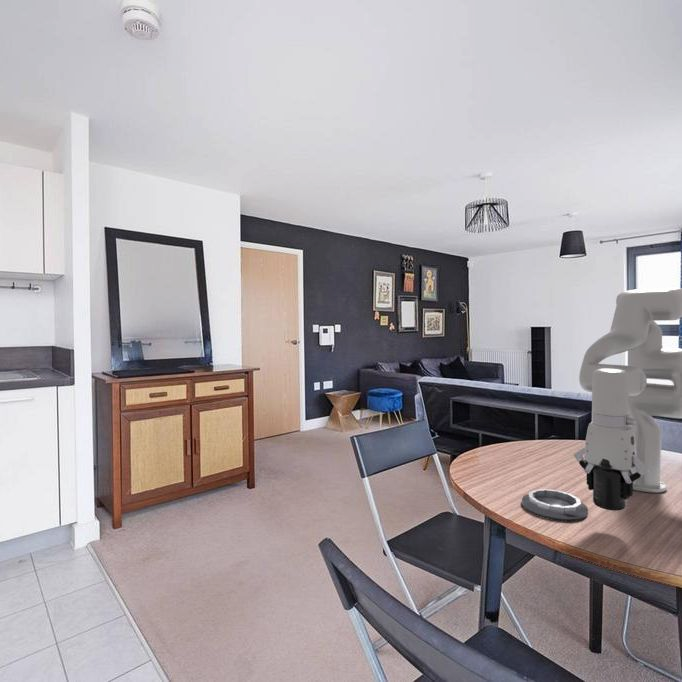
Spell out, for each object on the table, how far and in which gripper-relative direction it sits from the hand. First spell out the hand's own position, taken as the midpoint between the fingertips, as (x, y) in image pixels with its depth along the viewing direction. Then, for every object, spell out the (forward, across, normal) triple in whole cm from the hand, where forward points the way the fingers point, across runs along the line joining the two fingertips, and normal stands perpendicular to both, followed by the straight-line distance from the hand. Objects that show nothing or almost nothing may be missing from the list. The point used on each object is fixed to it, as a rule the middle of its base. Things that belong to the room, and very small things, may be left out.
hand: (608, 492), depth 106 cm
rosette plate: (+9, +14, -2) cm, 17 cm away
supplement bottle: (+3, 0, 0) cm, 3 cm away
